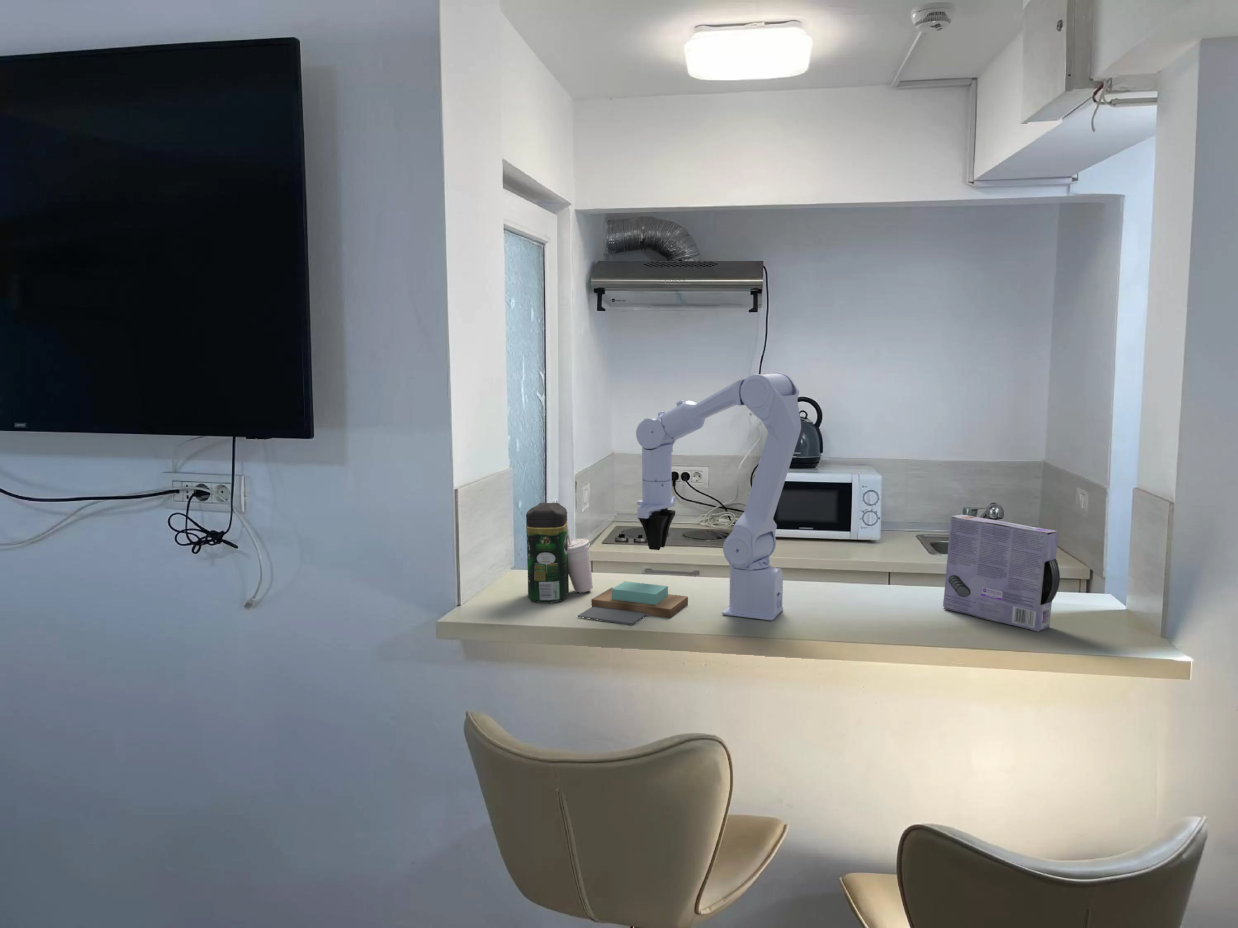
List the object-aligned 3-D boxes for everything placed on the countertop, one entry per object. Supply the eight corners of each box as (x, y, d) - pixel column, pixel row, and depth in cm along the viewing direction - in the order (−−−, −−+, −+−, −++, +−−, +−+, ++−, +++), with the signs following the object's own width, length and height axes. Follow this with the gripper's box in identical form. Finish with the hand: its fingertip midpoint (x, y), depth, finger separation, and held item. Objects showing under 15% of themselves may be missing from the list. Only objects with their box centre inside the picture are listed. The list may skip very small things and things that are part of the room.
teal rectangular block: (667, 596, 176) (667, 586, 175) (655, 604, 170) (655, 594, 170) (624, 591, 179) (624, 581, 179) (611, 599, 174) (611, 588, 174)
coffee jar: (532, 590, 186) (530, 499, 184) (571, 590, 186) (569, 500, 183) (524, 604, 177) (522, 508, 174) (565, 604, 176) (563, 509, 174)
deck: (687, 604, 176) (687, 596, 175) (670, 617, 168) (670, 609, 167) (611, 595, 182) (611, 587, 182) (591, 607, 174) (591, 599, 174)
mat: (647, 614, 169) (647, 612, 169) (632, 625, 163) (632, 623, 163) (593, 608, 174) (593, 605, 174) (577, 617, 168) (577, 615, 168)
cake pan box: (1058, 628, 160) (1064, 528, 158) (1045, 634, 157) (1051, 532, 155) (955, 604, 175) (959, 512, 172) (941, 609, 171) (945, 516, 169)
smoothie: (563, 590, 187) (548, 525, 184) (592, 580, 189) (577, 515, 186) (574, 597, 181) (558, 530, 178) (604, 587, 183) (589, 520, 180)
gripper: (652, 473, 188) (652, 538, 189) (622, 483, 175) (623, 554, 176) (684, 475, 185) (684, 541, 187) (657, 486, 172) (657, 557, 173)
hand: (656, 548), depth 181 cm, fingers closed
